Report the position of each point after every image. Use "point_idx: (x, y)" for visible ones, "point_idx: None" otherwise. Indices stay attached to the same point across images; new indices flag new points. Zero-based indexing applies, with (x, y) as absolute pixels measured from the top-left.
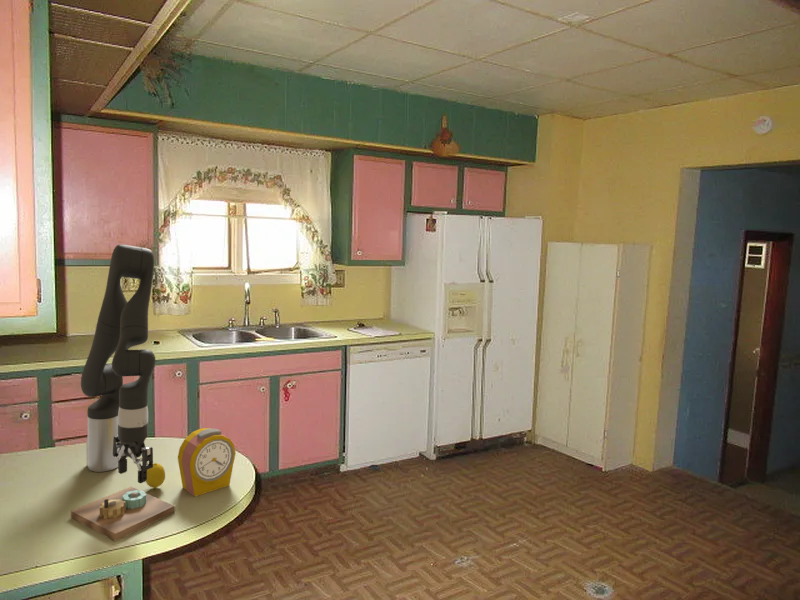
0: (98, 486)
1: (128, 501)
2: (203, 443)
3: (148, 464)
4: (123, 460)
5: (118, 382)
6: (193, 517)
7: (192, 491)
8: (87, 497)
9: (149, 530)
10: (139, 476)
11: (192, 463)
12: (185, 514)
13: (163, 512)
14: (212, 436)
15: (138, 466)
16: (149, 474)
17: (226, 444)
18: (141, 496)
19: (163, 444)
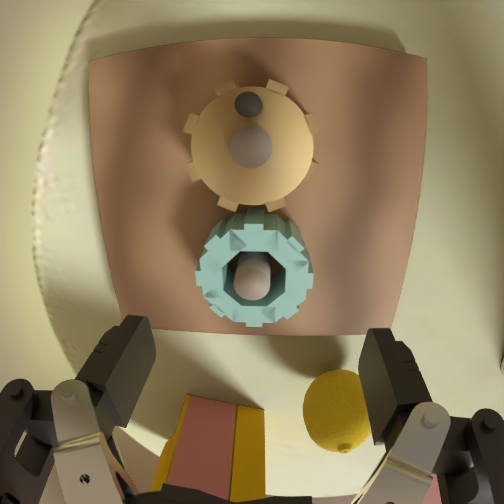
0: (496, 277)
1: (230, 227)
2: None
3: (32, 437)
4: (386, 427)
5: None
6: (78, 316)
7: (196, 405)
8: (483, 208)
9: (84, 187)
10: (107, 347)
11: (153, 487)
12: (105, 318)
13: (115, 279)
14: None
15: (75, 412)
16: (340, 406)
17: None
18: (213, 290)
19: None
